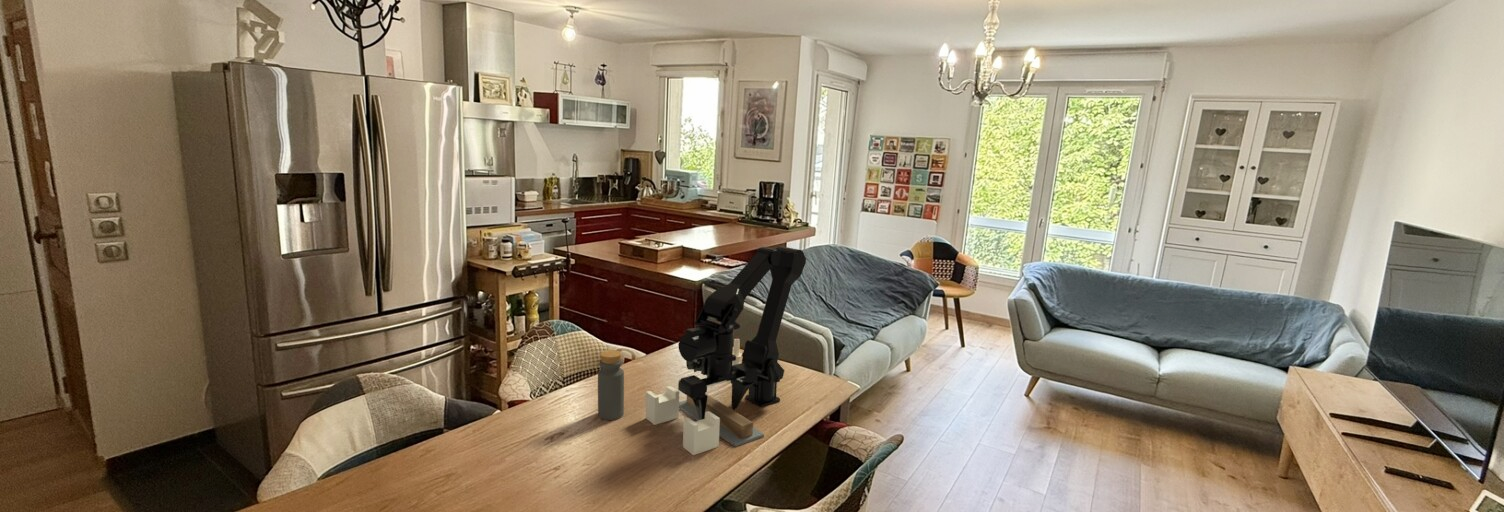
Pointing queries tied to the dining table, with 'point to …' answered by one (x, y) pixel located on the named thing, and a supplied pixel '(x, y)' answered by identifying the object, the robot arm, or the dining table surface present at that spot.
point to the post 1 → (662, 406)
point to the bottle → (610, 386)
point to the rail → (728, 417)
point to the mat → (721, 427)
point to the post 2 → (701, 434)
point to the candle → (736, 352)
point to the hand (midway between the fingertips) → (717, 414)
